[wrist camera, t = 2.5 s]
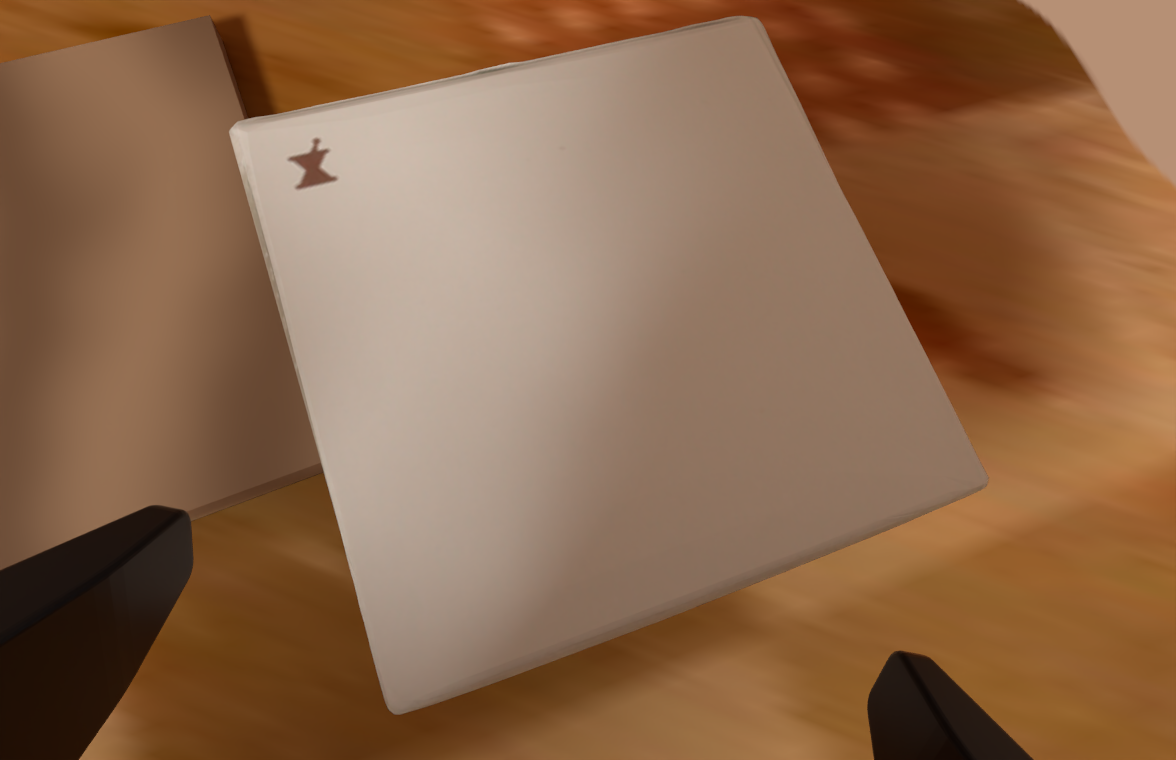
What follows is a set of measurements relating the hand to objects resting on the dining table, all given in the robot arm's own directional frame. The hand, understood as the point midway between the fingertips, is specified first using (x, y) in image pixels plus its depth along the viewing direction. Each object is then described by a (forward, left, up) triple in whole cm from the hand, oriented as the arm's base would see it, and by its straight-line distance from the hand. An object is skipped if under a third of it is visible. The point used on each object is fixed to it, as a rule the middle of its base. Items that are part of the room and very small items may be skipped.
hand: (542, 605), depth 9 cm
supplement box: (+2, +3, -11) cm, 11 cm away
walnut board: (-10, +13, -11) cm, 20 cm away
